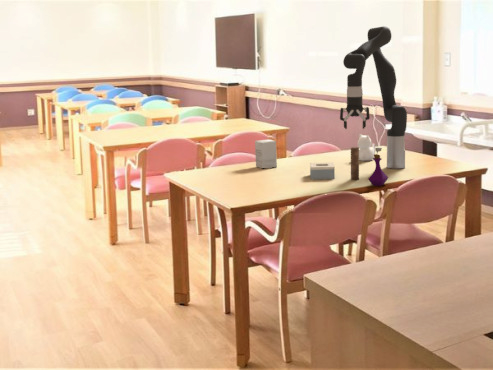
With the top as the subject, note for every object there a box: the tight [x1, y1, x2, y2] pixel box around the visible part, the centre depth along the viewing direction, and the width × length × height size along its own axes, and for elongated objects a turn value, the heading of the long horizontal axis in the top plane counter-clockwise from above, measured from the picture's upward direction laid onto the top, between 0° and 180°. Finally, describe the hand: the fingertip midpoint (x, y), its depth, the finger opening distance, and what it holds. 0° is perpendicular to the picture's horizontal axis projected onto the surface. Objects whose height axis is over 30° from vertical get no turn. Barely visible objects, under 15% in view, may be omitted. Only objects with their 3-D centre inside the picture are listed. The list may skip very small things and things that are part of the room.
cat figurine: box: [357, 133, 377, 162], centre depth 408 cm, size 9×12×15 cm
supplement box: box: [254, 138, 278, 169], centre depth 397 cm, size 9×9×15 cm
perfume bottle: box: [367, 147, 389, 187], centre depth 341 cm, size 8×8×18 cm
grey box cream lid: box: [309, 162, 336, 180], centre depth 366 cm, size 12×12×6 cm
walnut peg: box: [350, 146, 360, 181], centre depth 356 cm, size 4×4×16 cm
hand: (354, 128), depth 352 cm, fingers open, 8 cm apart
